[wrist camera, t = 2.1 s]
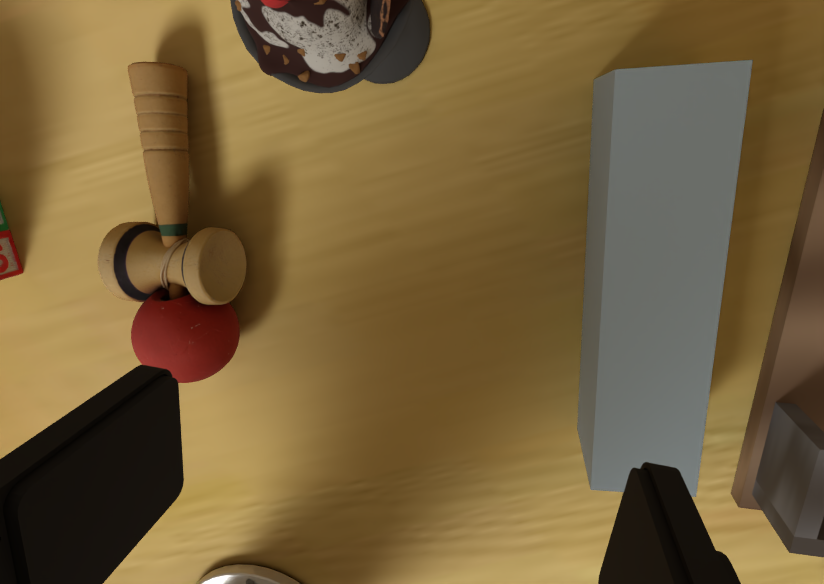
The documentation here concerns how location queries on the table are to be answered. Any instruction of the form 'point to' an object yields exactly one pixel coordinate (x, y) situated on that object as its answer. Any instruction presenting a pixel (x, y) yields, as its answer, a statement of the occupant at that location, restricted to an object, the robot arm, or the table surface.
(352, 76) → the sundae
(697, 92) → the grey rectangular block
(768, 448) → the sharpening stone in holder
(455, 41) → the table surface
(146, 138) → the kendama
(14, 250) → the stack of blocks
